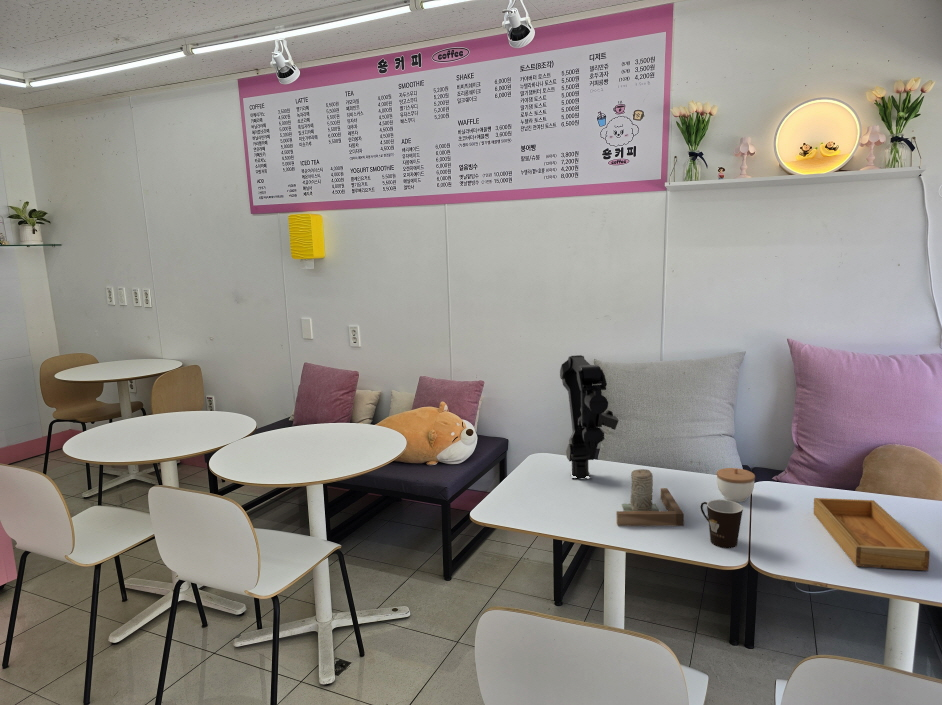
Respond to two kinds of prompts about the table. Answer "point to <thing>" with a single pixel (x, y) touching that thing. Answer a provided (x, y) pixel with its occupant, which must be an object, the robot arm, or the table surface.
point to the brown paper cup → (723, 522)
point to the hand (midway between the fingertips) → (590, 453)
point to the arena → (653, 514)
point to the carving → (641, 490)
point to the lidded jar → (735, 483)
